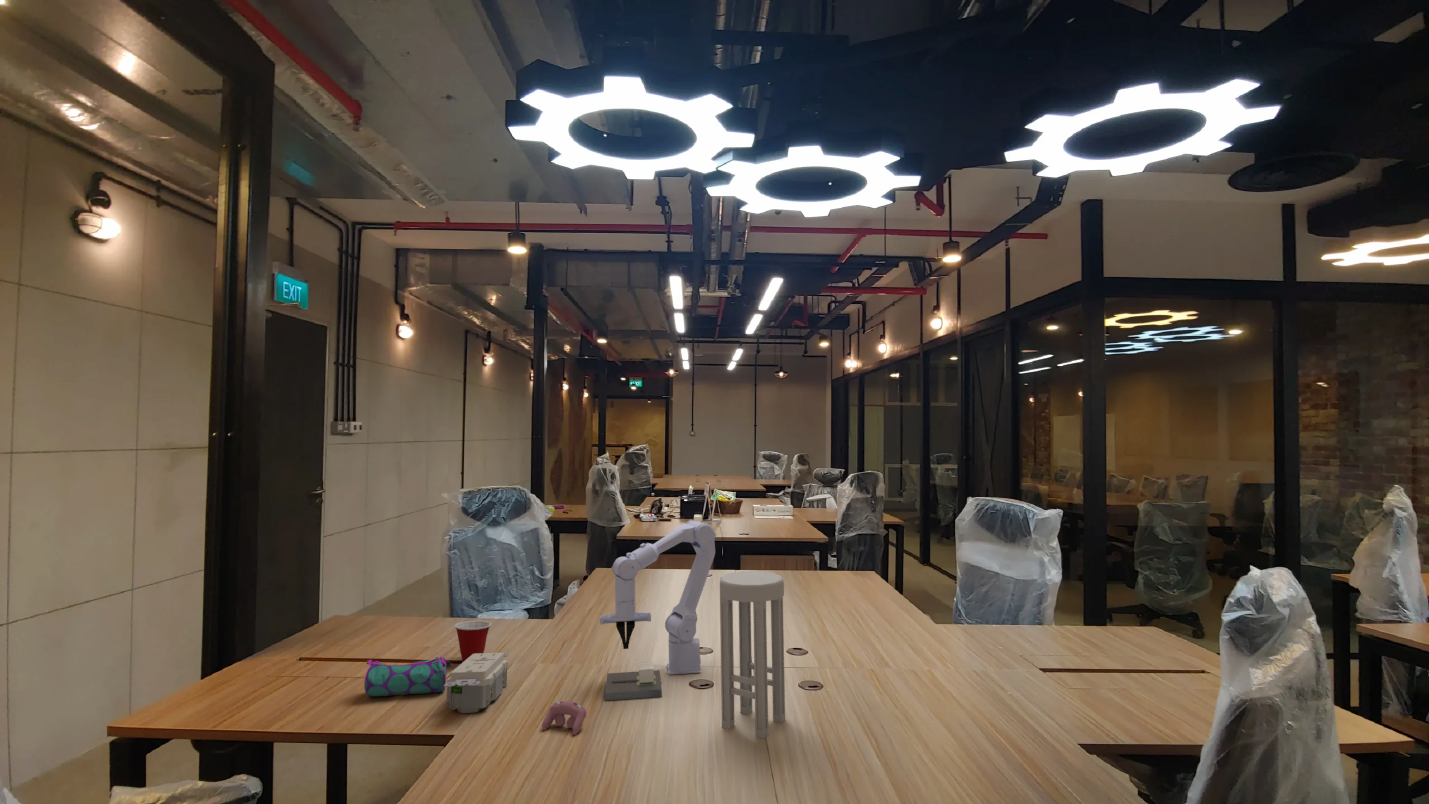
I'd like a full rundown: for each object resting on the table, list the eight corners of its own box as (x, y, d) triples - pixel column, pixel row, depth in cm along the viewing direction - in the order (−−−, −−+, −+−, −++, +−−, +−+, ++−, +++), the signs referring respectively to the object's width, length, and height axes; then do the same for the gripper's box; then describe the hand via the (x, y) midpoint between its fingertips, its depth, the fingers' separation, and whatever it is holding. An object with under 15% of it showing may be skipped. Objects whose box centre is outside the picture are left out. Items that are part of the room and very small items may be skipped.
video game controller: (584, 736, 151) (590, 704, 155) (575, 735, 148) (582, 702, 151) (548, 730, 154) (555, 699, 158) (538, 729, 151) (546, 697, 154)
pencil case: (450, 683, 181) (450, 649, 181) (444, 696, 172) (444, 660, 173) (371, 691, 176) (371, 655, 177) (360, 704, 168) (361, 667, 168)
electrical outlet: (435, 721, 155) (436, 679, 156) (473, 684, 184) (474, 648, 185) (483, 719, 156) (484, 677, 157) (514, 682, 184) (514, 647, 185)
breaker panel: (659, 677, 183) (659, 669, 183) (661, 696, 169) (661, 688, 170) (607, 680, 181) (607, 672, 182) (605, 700, 168) (605, 692, 168)
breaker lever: (653, 674, 179) (653, 662, 179) (653, 681, 174) (653, 668, 174) (639, 675, 178) (639, 663, 178) (639, 682, 173) (639, 669, 173)
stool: (767, 744, 143) (764, 587, 144) (709, 728, 151) (707, 580, 153) (796, 718, 156) (793, 574, 158) (741, 704, 164) (739, 568, 166)
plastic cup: (498, 659, 200) (498, 621, 200) (469, 670, 190) (469, 630, 191) (476, 653, 205) (476, 616, 206) (446, 664, 196) (447, 624, 197)
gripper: (650, 594, 187) (650, 641, 186) (600, 597, 185) (600, 644, 184) (651, 601, 180) (651, 649, 179) (599, 603, 178) (599, 653, 177)
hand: (625, 647), depth 181 cm, fingers closed
